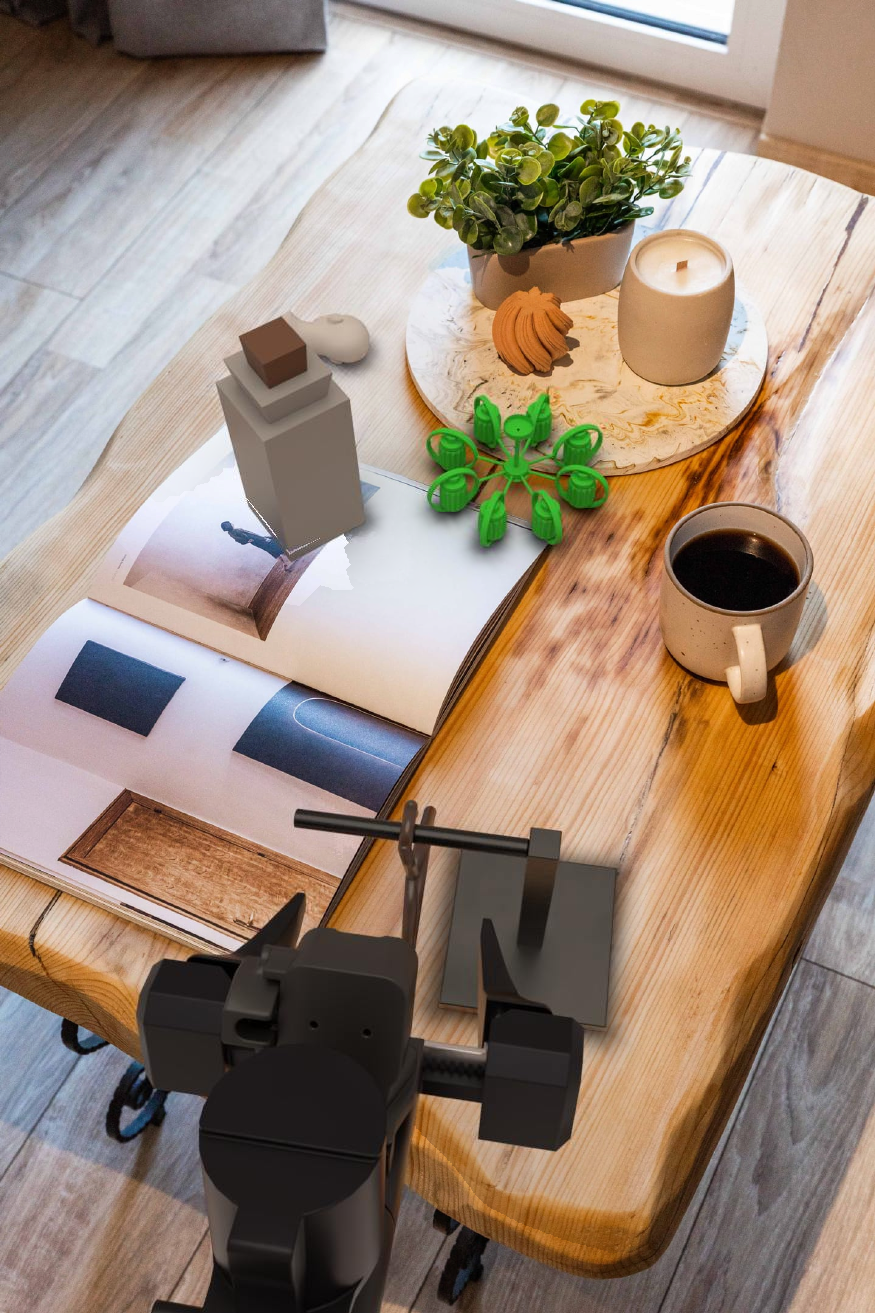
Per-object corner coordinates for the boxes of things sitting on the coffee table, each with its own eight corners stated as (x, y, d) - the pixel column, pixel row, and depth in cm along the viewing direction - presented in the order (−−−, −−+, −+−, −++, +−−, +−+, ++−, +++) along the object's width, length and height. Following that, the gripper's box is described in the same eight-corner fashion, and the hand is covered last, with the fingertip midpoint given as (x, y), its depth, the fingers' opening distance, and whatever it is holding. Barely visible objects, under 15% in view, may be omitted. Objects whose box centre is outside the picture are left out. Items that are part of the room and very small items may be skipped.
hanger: (411, 986, 65) (395, 957, 54) (397, 985, 65) (378, 954, 54) (437, 808, 69) (427, 746, 58) (424, 807, 69) (412, 744, 58)
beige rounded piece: (376, 351, 98) (363, 378, 95) (288, 340, 99) (272, 365, 95) (376, 305, 96) (363, 330, 92) (286, 293, 96) (270, 318, 93)
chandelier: (557, 394, 94) (563, 331, 88) (643, 522, 86) (656, 463, 80) (392, 450, 91) (387, 389, 85) (468, 587, 84) (467, 530, 78)
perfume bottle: (365, 522, 87) (343, 348, 72) (291, 562, 85) (252, 392, 70) (320, 468, 90) (290, 290, 75) (248, 506, 88) (202, 331, 73)
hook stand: (604, 1032, 66) (639, 954, 53) (310, 989, 68) (271, 903, 55) (614, 874, 72) (649, 766, 58) (341, 838, 73) (313, 725, 60)
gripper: (595, 1126, 36) (604, 811, 49) (51, 1042, 38) (197, 759, 51) (560, 1299, 43) (576, 979, 55) (93, 1220, 44) (214, 928, 57)
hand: (393, 911), depth 55 cm, fingers open, 9 cm apart
